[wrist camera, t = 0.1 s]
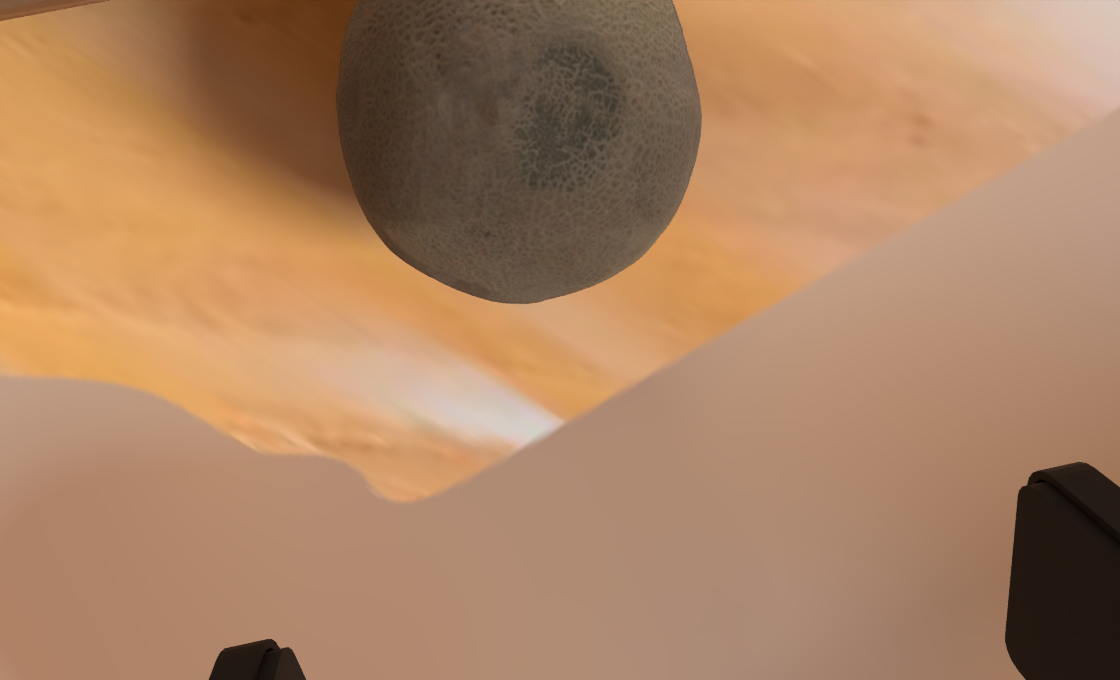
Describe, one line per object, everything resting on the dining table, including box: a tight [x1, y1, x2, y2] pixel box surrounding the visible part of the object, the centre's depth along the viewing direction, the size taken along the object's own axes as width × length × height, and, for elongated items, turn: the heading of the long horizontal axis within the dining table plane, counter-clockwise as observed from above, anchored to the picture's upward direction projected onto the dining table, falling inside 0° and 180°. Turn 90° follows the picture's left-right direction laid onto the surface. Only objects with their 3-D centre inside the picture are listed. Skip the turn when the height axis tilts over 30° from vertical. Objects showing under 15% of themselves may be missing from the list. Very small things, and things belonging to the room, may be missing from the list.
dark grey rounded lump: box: [336, 0, 702, 304], centre depth 30 cm, size 14×14×15 cm
